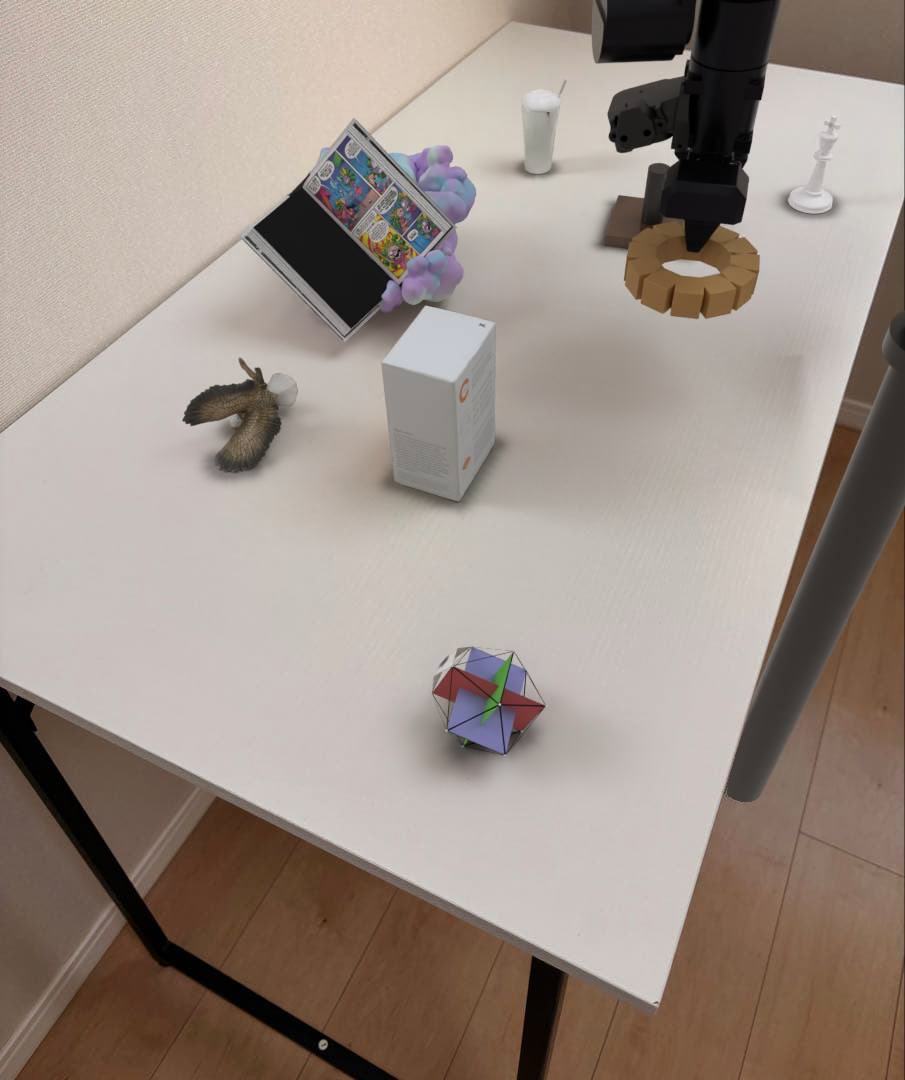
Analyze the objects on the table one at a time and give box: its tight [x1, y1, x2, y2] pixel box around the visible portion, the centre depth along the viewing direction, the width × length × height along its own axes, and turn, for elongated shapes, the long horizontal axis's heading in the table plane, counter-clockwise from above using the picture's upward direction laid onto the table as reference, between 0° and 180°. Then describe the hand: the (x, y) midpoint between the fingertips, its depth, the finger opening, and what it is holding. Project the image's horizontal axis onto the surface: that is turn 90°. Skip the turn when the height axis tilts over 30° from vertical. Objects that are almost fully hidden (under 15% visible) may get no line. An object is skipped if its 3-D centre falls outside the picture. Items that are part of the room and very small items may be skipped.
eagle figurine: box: [182, 357, 299, 473], centre depth 82 cm, size 8×7×9 cm
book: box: [239, 117, 477, 343], centre depth 94 cm, size 20×22×18 cm
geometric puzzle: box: [430, 645, 548, 758], centre depth 62 cm, size 7×7×8 cm
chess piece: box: [787, 115, 841, 215], centre depth 105 cm, size 5×5×10 cm
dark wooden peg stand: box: [603, 162, 684, 249], centre depth 103 cm, size 9×9×7 cm
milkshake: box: [520, 79, 567, 175], centre depth 112 cm, size 5×5×10 cm
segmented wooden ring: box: [623, 221, 761, 320], centre depth 79 cm, size 11×11×2 cm
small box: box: [380, 305, 497, 502], centre depth 77 cm, size 8×6×13 cm
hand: (694, 242), depth 82 cm, fingers closed on segmented wooden ring, 2 cm apart
